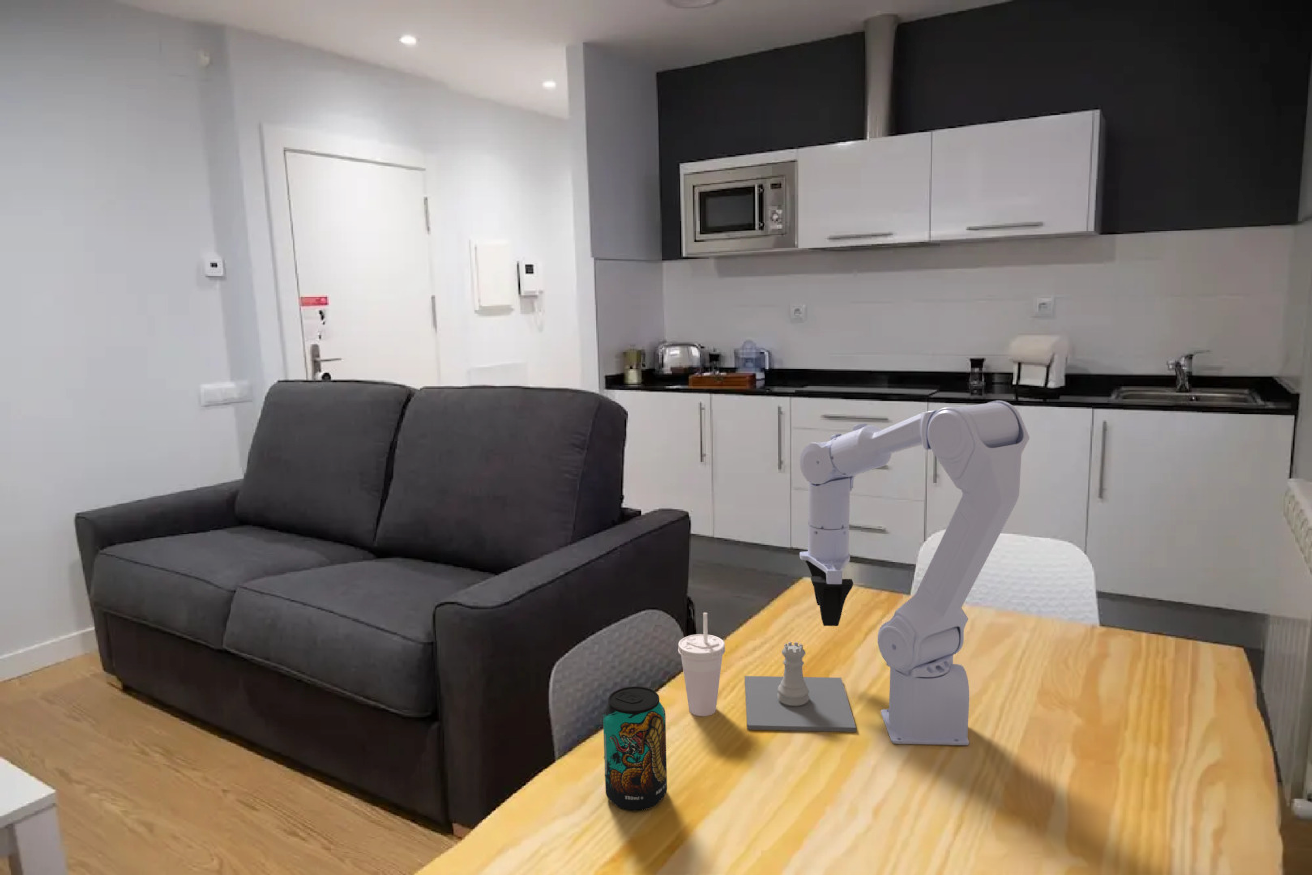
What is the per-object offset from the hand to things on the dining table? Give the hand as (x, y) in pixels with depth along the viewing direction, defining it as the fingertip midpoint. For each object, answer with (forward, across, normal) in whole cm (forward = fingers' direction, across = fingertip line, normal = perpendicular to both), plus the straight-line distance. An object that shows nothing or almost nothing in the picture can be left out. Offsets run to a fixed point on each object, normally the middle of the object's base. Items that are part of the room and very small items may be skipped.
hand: (827, 614), depth 120 cm
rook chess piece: (+10, +8, -6) cm, 14 cm away
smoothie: (+10, +10, -18) cm, 23 cm away
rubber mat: (+10, +8, -5) cm, 14 cm away
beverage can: (+10, +30, -25) cm, 40 cm away
